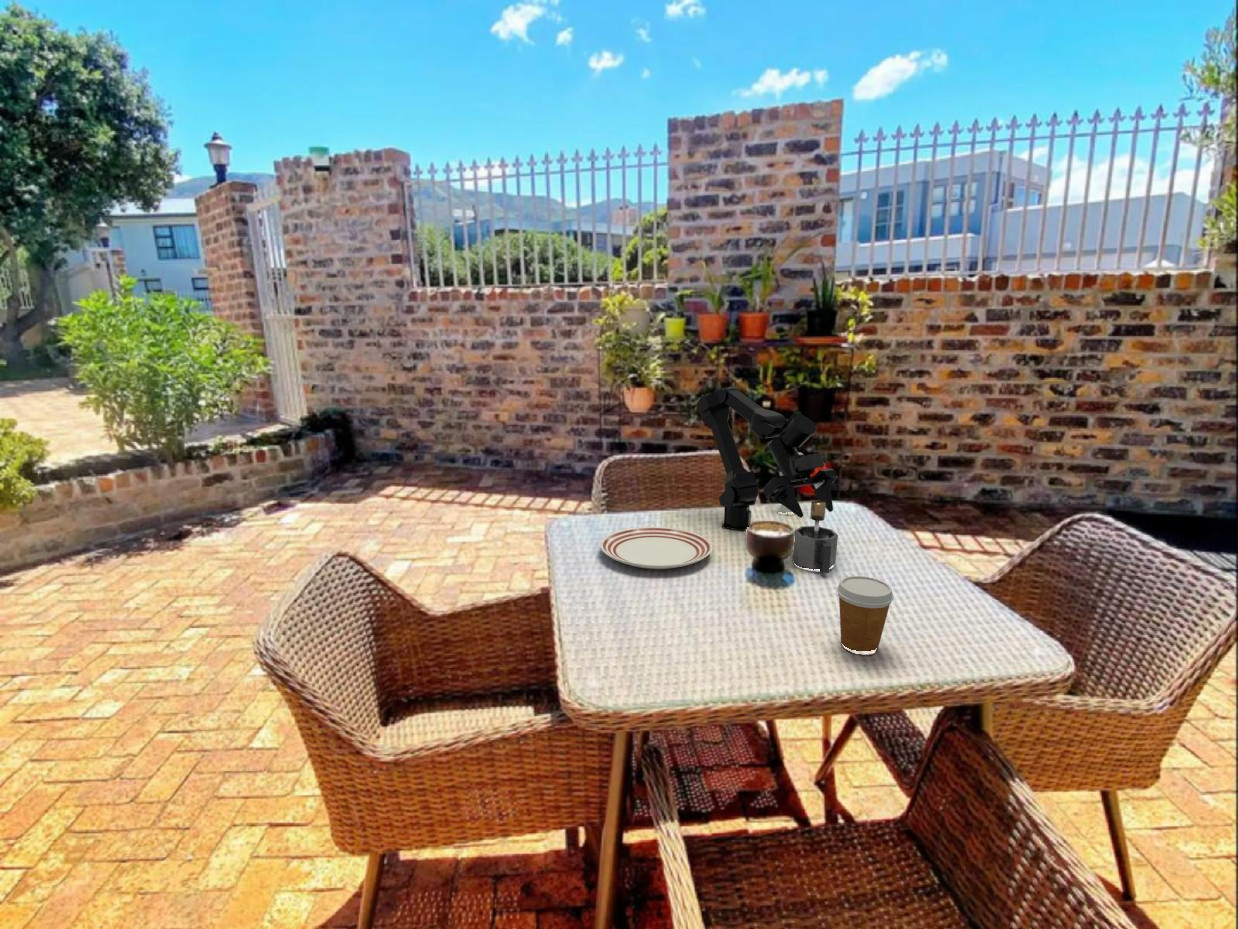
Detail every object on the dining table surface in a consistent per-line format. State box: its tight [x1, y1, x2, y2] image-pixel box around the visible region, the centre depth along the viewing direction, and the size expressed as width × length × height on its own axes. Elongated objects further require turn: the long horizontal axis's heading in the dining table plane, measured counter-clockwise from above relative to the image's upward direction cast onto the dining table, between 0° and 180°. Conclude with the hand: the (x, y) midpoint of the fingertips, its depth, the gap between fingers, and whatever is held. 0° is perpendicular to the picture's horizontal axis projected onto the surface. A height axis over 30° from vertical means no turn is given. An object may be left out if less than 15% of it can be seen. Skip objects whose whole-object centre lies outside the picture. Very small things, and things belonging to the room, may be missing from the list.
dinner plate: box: [599, 526, 713, 570], centre depth 159 cm, size 28×27×3 cm
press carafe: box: [791, 525, 839, 574], centre depth 151 cm, size 12×9×8 cm
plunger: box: [809, 499, 826, 539], centre depth 151 cm, size 7×7×11 cm
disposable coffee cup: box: [836, 575, 895, 651], centre depth 116 cm, size 10×10×12 cm
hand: (816, 513), depth 151 cm, fingers open, 9 cm apart
